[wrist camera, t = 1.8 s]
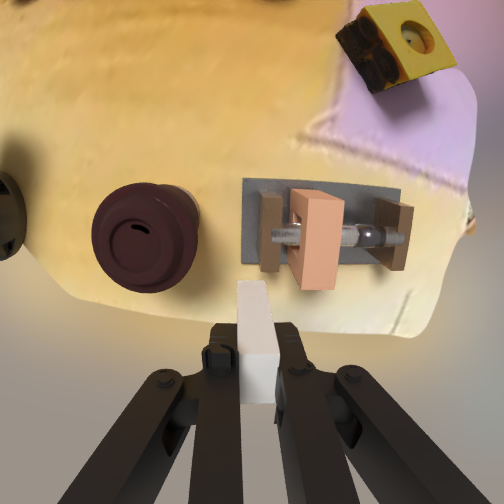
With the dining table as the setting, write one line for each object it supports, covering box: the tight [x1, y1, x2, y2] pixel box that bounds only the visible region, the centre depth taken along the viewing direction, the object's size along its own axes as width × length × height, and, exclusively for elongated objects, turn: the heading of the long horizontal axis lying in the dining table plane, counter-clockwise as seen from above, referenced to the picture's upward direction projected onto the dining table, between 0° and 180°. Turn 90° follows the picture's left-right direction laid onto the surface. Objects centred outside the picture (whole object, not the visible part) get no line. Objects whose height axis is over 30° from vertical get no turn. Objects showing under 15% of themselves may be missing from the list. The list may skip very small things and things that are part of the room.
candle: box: [336, 0, 457, 93], centre depth 25 cm, size 10×10×10 cm
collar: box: [287, 189, 345, 290], centre depth 31 cm, size 4×9×9 cm, turn 179°
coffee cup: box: [92, 182, 199, 293], centre depth 29 cm, size 10×10×15 cm
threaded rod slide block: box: [241, 178, 414, 272], centre depth 34 cm, size 22×11×8 cm, turn 89°
